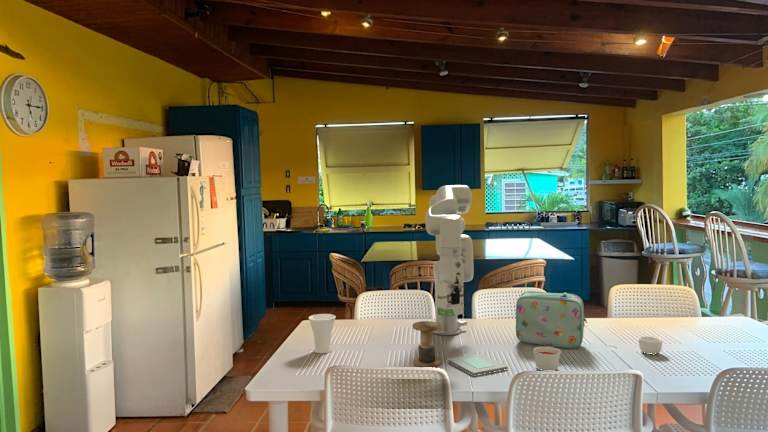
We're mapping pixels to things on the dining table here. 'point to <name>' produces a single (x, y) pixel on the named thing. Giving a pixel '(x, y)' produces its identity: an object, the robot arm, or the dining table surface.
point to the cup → (322, 331)
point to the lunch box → (550, 319)
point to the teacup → (650, 344)
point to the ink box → (448, 300)
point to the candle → (547, 358)
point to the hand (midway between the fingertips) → (450, 301)
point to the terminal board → (477, 364)
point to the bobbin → (426, 344)
